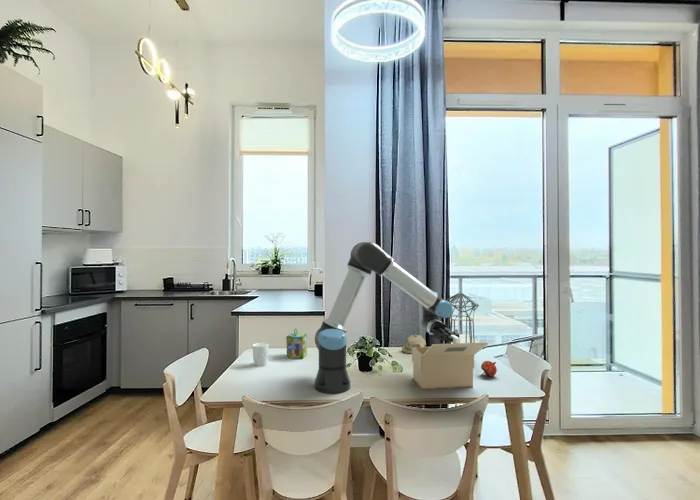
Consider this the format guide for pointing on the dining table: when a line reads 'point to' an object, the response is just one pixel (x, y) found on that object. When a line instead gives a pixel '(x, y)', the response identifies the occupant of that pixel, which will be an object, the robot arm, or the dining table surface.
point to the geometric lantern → (462, 311)
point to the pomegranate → (489, 368)
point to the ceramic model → (413, 343)
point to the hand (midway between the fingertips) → (458, 341)
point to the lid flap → (454, 349)
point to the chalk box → (296, 345)
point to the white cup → (260, 353)
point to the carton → (442, 370)
